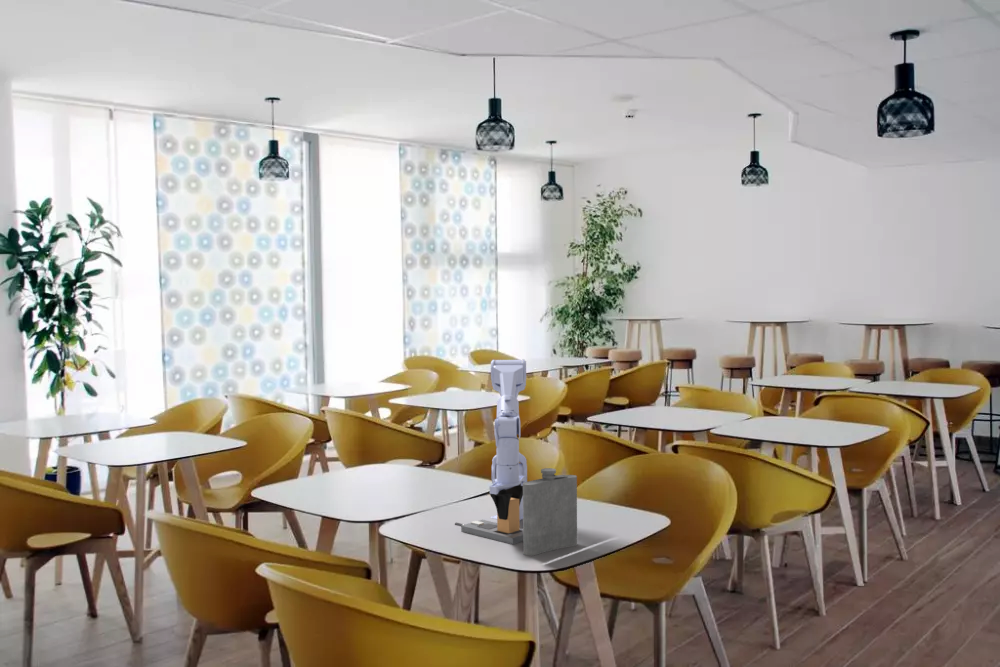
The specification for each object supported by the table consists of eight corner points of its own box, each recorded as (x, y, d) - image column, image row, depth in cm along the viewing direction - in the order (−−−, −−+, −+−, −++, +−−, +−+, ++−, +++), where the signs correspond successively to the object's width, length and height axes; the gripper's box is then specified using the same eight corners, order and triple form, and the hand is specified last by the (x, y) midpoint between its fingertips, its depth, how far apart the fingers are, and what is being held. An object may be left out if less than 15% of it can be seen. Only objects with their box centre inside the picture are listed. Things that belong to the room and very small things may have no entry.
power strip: (466, 523, 243) (466, 514, 243) (533, 539, 227) (533, 529, 227) (445, 529, 237) (445, 520, 237) (512, 546, 221) (512, 536, 221)
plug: (507, 527, 230) (507, 496, 230) (519, 530, 228) (519, 499, 227) (497, 530, 227) (497, 499, 227) (509, 533, 225) (508, 501, 224)
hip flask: (528, 558, 211) (528, 474, 210) (518, 554, 214) (517, 472, 213) (579, 546, 220) (579, 466, 219) (569, 543, 224) (568, 463, 223)
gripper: (509, 457, 235) (509, 508, 236) (479, 467, 222) (479, 521, 223) (532, 459, 231) (532, 511, 232) (503, 470, 219) (503, 524, 220)
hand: (508, 516), depth 227 cm, fingers closed on plug, 5 cm apart
